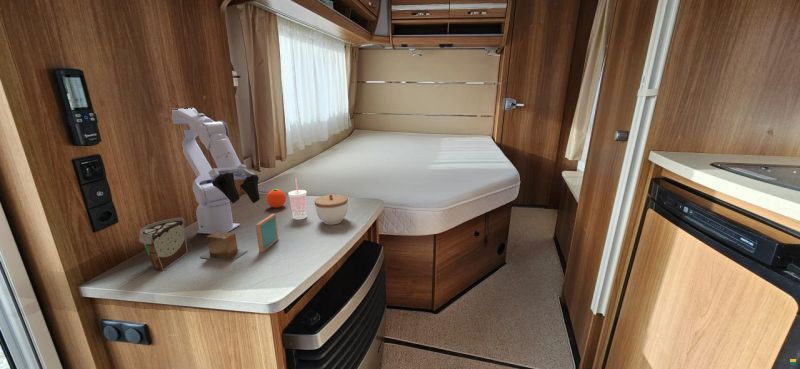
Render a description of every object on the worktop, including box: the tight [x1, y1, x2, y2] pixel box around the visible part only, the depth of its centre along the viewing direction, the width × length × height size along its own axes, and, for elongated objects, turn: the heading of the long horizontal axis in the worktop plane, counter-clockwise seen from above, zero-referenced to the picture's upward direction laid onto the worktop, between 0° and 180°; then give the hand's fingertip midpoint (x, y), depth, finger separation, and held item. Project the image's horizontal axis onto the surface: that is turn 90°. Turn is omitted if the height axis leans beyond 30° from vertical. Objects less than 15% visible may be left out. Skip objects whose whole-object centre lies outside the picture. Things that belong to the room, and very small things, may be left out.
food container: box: [138, 217, 189, 272], centre depth 84 cm, size 12×6×10 cm, turn 178°
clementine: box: [266, 188, 287, 209], centre depth 125 cm, size 8×7×7 cm
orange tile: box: [254, 213, 279, 253], centre depth 93 cm, size 1×8×8 cm, turn 169°
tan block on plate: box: [199, 231, 249, 263], centre depth 88 cm, size 10×6×6 cm, turn 76°
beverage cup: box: [287, 177, 308, 220], centre depth 113 cm, size 6×6×14 cm
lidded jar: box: [313, 193, 349, 225], centre depth 109 cm, size 11×11×9 cm
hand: (246, 201), depth 89 cm, fingers open, 7 cm apart
